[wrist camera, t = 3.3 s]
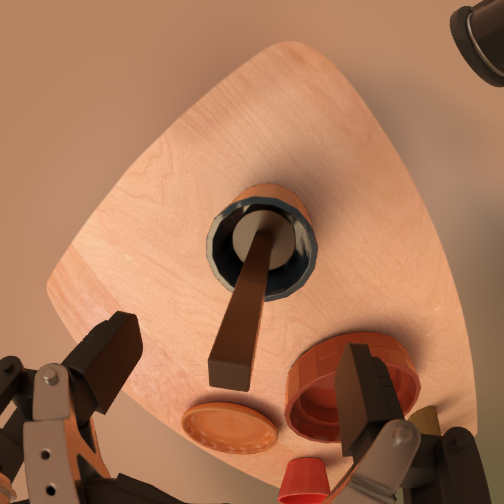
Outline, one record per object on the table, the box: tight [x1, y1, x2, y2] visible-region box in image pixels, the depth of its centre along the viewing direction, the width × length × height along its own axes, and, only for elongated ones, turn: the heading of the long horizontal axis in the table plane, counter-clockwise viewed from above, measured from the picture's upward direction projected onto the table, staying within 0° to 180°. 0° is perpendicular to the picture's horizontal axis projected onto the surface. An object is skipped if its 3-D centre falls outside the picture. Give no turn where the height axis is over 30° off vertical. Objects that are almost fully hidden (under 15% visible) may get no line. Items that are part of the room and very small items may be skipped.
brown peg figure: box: [408, 406, 441, 436], centre depth 30 cm, size 6×6×11 cm
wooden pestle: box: [208, 203, 296, 392], centre depth 17 cm, size 5×5×19 cm
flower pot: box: [277, 458, 330, 504], centre depth 39 cm, size 11×11×10 cm
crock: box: [206, 184, 318, 302], centre depth 23 cm, size 8×8×8 cm
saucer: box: [181, 402, 278, 455], centre depth 37 cm, size 16×16×3 cm
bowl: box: [284, 332, 421, 443], centre depth 30 cm, size 17×17×6 cm
